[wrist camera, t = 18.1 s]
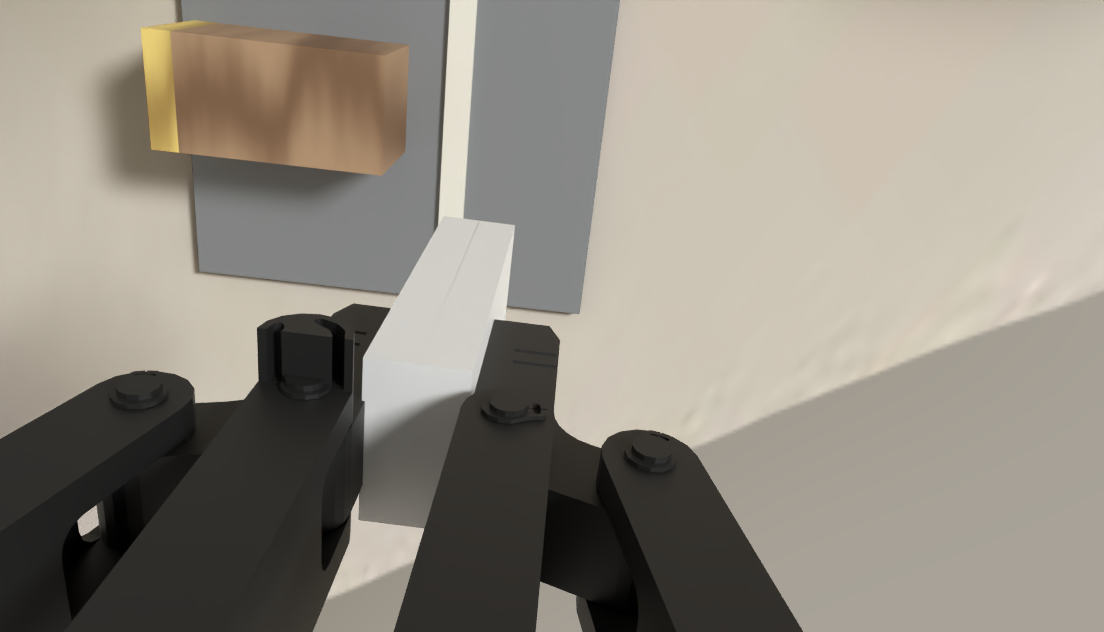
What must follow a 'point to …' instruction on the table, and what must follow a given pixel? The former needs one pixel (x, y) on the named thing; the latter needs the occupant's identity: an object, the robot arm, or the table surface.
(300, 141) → the block
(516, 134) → the mat
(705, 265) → the table surface
